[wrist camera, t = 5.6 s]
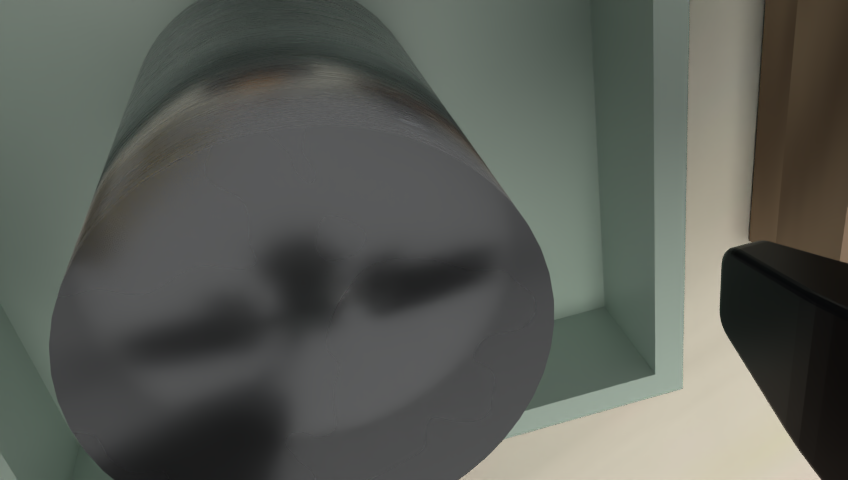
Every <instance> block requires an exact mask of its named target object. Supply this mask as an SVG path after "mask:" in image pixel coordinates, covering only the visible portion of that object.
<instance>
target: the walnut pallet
mask: <svg viewBox="0 0 848 480" xmlns="http://www.w3.org/2000/svg"><path fill="white" fill-rule="evenodd" d="M761 240H765V241H770V242H773V243H777V244H781V245H784V246H788V247H791V248H795V249H798V250H802V251H806V252H809V253H813V254H816V255H820V256H824V257H827V258H831V259H834V260H838V261H842V262H845V263H848V0H766V3H765V17H764V32H763V46H762V61H761V76H760V90H759V105H758V119H757V134H756V148H755V163H754V177H753V192H752V206H751V221H750V236H749V241H750V242H755V241H761Z"/></svg>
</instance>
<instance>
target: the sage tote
mask: <svg viewBox="0 0 848 480" xmlns="http://www.w3.org/2000/svg"><path fill="white" fill-rule="evenodd" d="M196 1H198V0H0V480H114V479H112V478H111V477H110V476H109V475H108V474H106V473H105V472H104V471H103V470H102V469H101V468H100V467H99V466H98V465H97V464H96V463H95V461H94V460H93V459H92V458H91V457H90V456H89V455H88V454H87V453H86V451H85V450H84V449H83V447H82V446H81V444H80V443H79V441H78V440H77V438H76V437H75V435H74V434H73V432H72V431H71V429H70V428H69V426H68V424H67V421H66V419H65V417H64V415H63V412H62V410H61V408H60V406H59V403H58V401H57V397H56V393H55V389H54V385H53V381H52V377H51V370H50V356H49V339H50V329H51V319H52V314H53V310H54V307H55V303H56V300H57V296H58V293H59V289H60V286H61V283H62V281H63V278H64V275H65V272H66V270H67V267H68V264H69V261H70V259H71V256H72V253H73V251H74V248H75V245H76V242H77V240H78V237H79V234H80V231H81V229H82V226H83V223H84V221H85V218H86V215H87V212H88V210H89V207H90V204H91V201H92V199H93V196H94V193H95V191H96V188H97V185H98V182H99V180H100V177H101V174H102V171H103V169H104V166H105V163H106V161H107V158H108V155H109V152H110V150H111V147H112V144H113V141H114V139H115V136H116V133H117V131H118V128H119V125H120V122H121V120H122V117H123V114H124V111H125V109H126V106H127V103H128V101H129V98H130V95H131V92H132V90H133V87H134V84H135V81H136V79H137V76H138V73H139V71H140V68H141V66H142V64H143V61H144V59H145V57H146V55H147V53H148V51H149V49H150V48H151V46H152V45H153V43H154V42H155V40H156V39H157V37H158V35H159V34H160V33H161V32H162V31H163V30H164V28H165V27H166V26H167V25H168V24H169V23H170V22H171V21H172V20H173V19H174V18H175V17H176V16H177V15H179V14H180V13H181V12H182V11H183V10H184V9H186V8H187V7H188V6H190V5H191V4H193V3H195V2H196ZM354 1H356V2H357V3H359V4H361V5H362V6H364V7H365V8H366V9H367V10H369V11H370V12H371V13H373V14H374V15H375V16H376V17H377V18H378V19H379V20H380V21H381V22H382V23H383V24H384V25H385V26H386V27H387V28H388V29H389V30H390V31H391V32H392V34H393V35H394V36H395V38H396V39H397V40H398V42H399V43H400V44H401V46H402V47H403V48H404V50H405V51H406V53H407V54H408V55H409V57H410V58H411V60H412V61H413V63H414V64H415V65H416V67H417V68H418V70H419V71H420V72H421V74H422V75H423V77H424V78H425V79H426V81H427V82H428V84H429V85H430V87H431V88H432V89H433V91H434V92H435V94H436V95H437V96H438V98H439V99H440V101H441V102H442V103H443V105H444V106H445V108H446V109H447V111H448V112H449V113H450V115H451V116H452V118H453V119H454V120H455V122H456V123H457V125H458V126H459V127H460V129H461V130H462V132H463V133H464V135H465V136H466V137H467V139H468V140H469V142H470V143H471V144H472V146H473V147H474V149H475V150H476V151H477V153H478V154H479V156H480V157H481V159H482V160H483V161H484V163H485V164H486V166H487V167H488V168H489V170H490V171H491V173H492V174H493V176H494V177H495V178H496V180H497V181H498V183H499V184H500V185H501V187H502V188H503V190H504V191H505V192H506V194H507V195H508V197H509V198H510V200H511V201H512V202H513V204H514V205H515V207H516V208H517V209H518V211H519V212H520V214H521V215H522V216H523V218H524V219H525V221H526V222H527V224H528V225H529V227H530V229H531V231H532V233H533V234H534V236H535V238H536V240H537V242H538V244H539V246H540V248H541V250H542V253H543V256H544V259H545V262H546V265H547V267H548V270H549V273H550V279H551V285H552V291H553V297H554V329H553V336H552V343H551V349H550V353H549V356H548V360H547V363H546V367H545V370H544V373H543V376H542V378H541V380H540V382H539V385H538V387H537V389H536V392H535V394H534V396H533V398H532V399H531V401H530V403H529V404H528V406H527V408H526V409H525V411H524V413H523V414H522V416H521V418H520V419H519V420H518V422H517V423H516V424H515V425H514V427H513V428H512V429H511V431H510V432H509V433H508V435H507V436H506V437H505V438H504V439H506V438H510V437H513V436H517V435H520V434H524V433H527V432H531V431H535V430H538V429H542V428H545V427H549V426H552V425H556V424H559V423H563V422H566V421H570V420H573V419H577V418H581V417H584V416H588V415H591V414H595V413H598V412H602V411H605V410H609V409H612V408H616V407H620V406H623V405H627V404H630V403H634V402H637V401H641V400H644V399H648V398H651V397H655V396H658V395H662V394H666V393H669V392H673V391H676V390H680V389H683V335H684V280H685V225H686V170H687V115H688V60H689V5H690V0H354Z"/></svg>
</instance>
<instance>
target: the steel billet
mask: <svg viewBox="0 0 848 480" xmlns="http://www.w3.org/2000/svg"><path fill="white" fill-rule="evenodd" d="M553 329H554V297H553V291H552V285H551V279H550V273H549V270H548V267H547V265H546V262H545V259H544V256H543V253H542V250H541V248H540V246H539V244H538V242H537V240H536V238H535V236H534V234H533V233H532V231H531V229H530V227H529V225H528V224H527V222H526V221H525V219H524V218H523V216H522V215H521V214H520V212H519V211H518V209H517V208H516V207H515V205H514V204H513V202H512V201H511V200H510V198H509V197H508V195H507V194H506V192H505V191H504V190H503V188H502V187H501V185H500V184H499V183H498V181H497V180H496V178H495V177H494V176H493V174H492V173H491V171H490V170H489V168H488V167H487V166H486V164H485V163H484V161H483V160H482V159H481V157H480V156H479V154H478V153H477V151H476V150H475V149H474V147H473V146H472V144H471V143H470V142H469V140H468V139H467V137H466V136H465V135H464V133H463V132H462V130H461V129H460V127H459V126H458V125H457V123H456V122H455V120H454V119H453V118H452V116H451V115H450V113H449V112H448V111H447V109H446V108H445V106H444V105H443V103H442V102H441V101H440V99H439V98H438V96H437V95H436V94H435V92H434V91H433V89H432V88H431V87H430V85H429V84H428V82H427V81H426V79H425V78H424V77H423V75H422V74H421V72H420V71H419V70H418V68H417V67H416V65H415V64H414V63H413V61H412V60H411V58H410V57H409V55H408V54H407V53H406V51H405V50H404V48H403V47H402V46H401V44H400V43H399V42H398V40H397V39H396V38H395V36H394V35H393V34H392V32H391V31H390V30H389V29H388V28H387V27H386V26H385V25H384V24H383V23H382V22H381V21H380V20H379V19H378V18H377V17H376V16H375V15H374V14H373V13H371V12H370V11H369V10H367V9H366V8H365V7H364V6H362V5H361V4H359V3H357V2H356V1H354V0H198V1H196V2H195V3H193V4H191V5H190V6H188V7H187V8H186V9H184V10H183V11H182V12H181V13H180V14H179V15H177V16H176V17H175V18H174V19H173V20H172V21H171V22H170V23H169V24H168V25H167V26H166V27H165V28H164V30H163V31H162V32H161V33H160V34H159V35H158V37H157V39H156V40H155V42H154V43H153V45H152V46H151V48H150V49H149V51H148V53H147V55H146V57H145V59H144V61H143V64H142V66H141V68H140V71H139V73H138V76H137V79H136V81H135V84H134V87H133V90H132V92H131V95H130V98H129V101H128V103H127V106H126V109H125V111H124V114H123V117H122V120H121V122H120V125H119V128H118V131H117V133H116V136H115V139H114V141H113V144H112V147H111V150H110V152H109V155H108V158H107V161H106V163H105V166H104V169H103V171H102V174H101V177H100V180H99V182H98V185H97V188H96V191H95V193H94V196H93V199H92V201H91V204H90V207H89V210H88V212H87V215H86V218H85V221H84V223H83V226H82V229H81V231H80V234H79V237H78V240H77V242H76V245H75V248H74V251H73V253H72V256H71V259H70V261H69V264H68V267H67V270H66V272H65V275H64V278H63V281H62V283H61V286H60V289H59V293H58V296H57V300H56V303H55V307H54V310H53V314H52V319H51V329H50V339H49V356H50V370H51V377H52V381H53V385H54V389H55V393H56V397H57V401H58V403H59V406H60V408H61V410H62V412H63V415H64V417H65V419H66V421H67V424H68V426H69V428H70V429H71V431H72V432H73V434H74V435H75V437H76V438H77V440H78V441H79V443H80V444H81V446H82V447H83V449H84V450H85V451H86V453H87V454H88V455H89V456H90V457H91V458H92V459H93V460H94V461H95V463H96V464H97V465H98V466H99V467H100V468H101V469H102V470H103V471H104V472H105V473H106V474H108V475H109V476H110V477H111V478H112V479H114V480H458V479H460V478H461V477H463V476H464V475H466V474H467V473H468V472H469V471H471V470H472V469H473V468H474V467H475V466H477V465H478V464H479V463H480V462H481V461H482V460H484V459H485V458H486V457H487V456H488V455H489V454H490V453H491V452H492V451H493V450H494V449H495V448H496V447H497V446H498V445H499V444H500V443H501V442H502V440H503V439H504V438H505V437H506V436H507V435H508V433H509V432H510V431H511V429H512V428H513V427H514V425H515V424H516V423H517V422H518V420H519V419H520V418H521V416H522V414H523V413H524V411H525V409H526V408H527V406H528V404H529V403H530V401H531V399H532V398H533V396H534V394H535V392H536V389H537V387H538V385H539V382H540V380H541V378H542V376H543V373H544V370H545V367H546V363H547V360H548V356H549V353H550V349H551V343H552V336H553Z"/></svg>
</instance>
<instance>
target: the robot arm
mask: <svg viewBox="0 0 848 480" xmlns="http://www.w3.org/2000/svg"><path fill="white" fill-rule="evenodd" d="M720 318H721V322H722V326H723V328H724V331H725V333H726V334H727V336H728V338H729V340H730V341H731V343H732V344H733V346H734V348H735V349H736V351H737V352H738V354H739V356H740V357H741V359H742V360H743V362H744V364H745V365H746V367H747V369H748V370H749V372H750V373H751V375H752V377H753V378H754V380H755V381H756V383H757V385H758V386H759V388H760V390H761V391H762V393H763V394H764V396H765V398H766V399H767V401H768V402H769V404H770V406H771V407H772V409H773V411H774V412H775V414H776V415H777V417H778V419H779V420H780V422H781V423H782V425H783V427H784V428H785V430H786V431H787V433H788V434H789V436H790V437H791V439H792V440H793V442H794V443H795V445H796V446H797V448H798V449H799V451H800V452H801V453H802V455H803V456H804V457H805V459H806V460H807V462H808V463H809V464H810V466H811V467H812V468H813V470H814V471H815V472H816V473H817V475H818V476H819V477H820V479H821V480H848V263H845V262H842V261H838V260H834V259H831V258H827V257H824V256H820V255H816V254H813V253H809V252H806V251H802V250H798V249H795V248H791V247H788V246H784V245H781V244H777V243H773V242H770V241H765V240H761V241H755V242H752V243H748V244H744V245H740V246H737V247H733V248H730V249H729V250H728V251H727V252H726V253H725V254H724V256H723V259H722V269H721V291H720Z"/></svg>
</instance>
